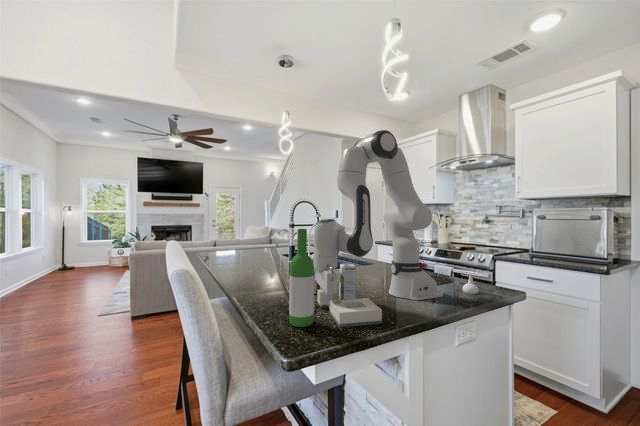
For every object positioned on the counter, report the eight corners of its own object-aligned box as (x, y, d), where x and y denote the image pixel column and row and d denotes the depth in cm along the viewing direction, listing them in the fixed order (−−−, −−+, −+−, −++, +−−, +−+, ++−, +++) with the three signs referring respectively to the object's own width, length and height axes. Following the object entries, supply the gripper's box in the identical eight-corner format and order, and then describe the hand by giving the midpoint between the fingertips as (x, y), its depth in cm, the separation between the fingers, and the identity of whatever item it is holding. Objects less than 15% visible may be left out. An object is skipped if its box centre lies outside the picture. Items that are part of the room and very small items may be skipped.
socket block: (367, 310, 102) (367, 295, 102) (381, 323, 90) (381, 307, 90) (329, 313, 99) (329, 298, 99) (339, 327, 87) (339, 310, 87)
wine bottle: (313, 318, 94) (314, 228, 94) (313, 328, 86) (314, 229, 86) (290, 318, 94) (290, 228, 94) (288, 328, 86) (288, 229, 86)
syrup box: (338, 299, 115) (339, 263, 114) (353, 299, 115) (353, 263, 115) (341, 304, 109) (341, 266, 109) (356, 303, 109) (356, 266, 109)
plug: (330, 304, 108) (330, 288, 108) (332, 307, 105) (332, 291, 105) (317, 305, 107) (317, 289, 107) (319, 308, 104) (319, 292, 104)
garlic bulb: (478, 296, 122) (480, 278, 122) (462, 293, 125) (464, 275, 125) (477, 292, 128) (479, 275, 128) (462, 289, 131) (464, 272, 130)
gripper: (341, 267, 96) (341, 308, 96) (327, 257, 116) (326, 291, 116) (323, 268, 95) (323, 309, 95) (311, 258, 115) (311, 292, 115)
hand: (325, 299), depth 106 cm, fingers closed on plug, 4 cm apart
